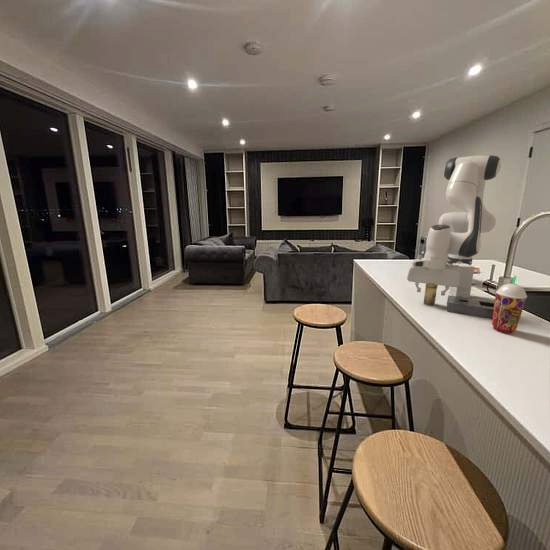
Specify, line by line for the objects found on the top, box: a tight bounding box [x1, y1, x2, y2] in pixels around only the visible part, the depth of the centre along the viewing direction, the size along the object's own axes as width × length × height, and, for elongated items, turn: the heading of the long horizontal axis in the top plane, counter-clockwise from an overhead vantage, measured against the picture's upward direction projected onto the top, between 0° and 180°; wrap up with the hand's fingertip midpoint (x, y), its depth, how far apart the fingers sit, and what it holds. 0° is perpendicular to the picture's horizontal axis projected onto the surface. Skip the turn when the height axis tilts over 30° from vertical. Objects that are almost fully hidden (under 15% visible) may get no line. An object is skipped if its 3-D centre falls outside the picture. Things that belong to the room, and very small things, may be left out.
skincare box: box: [448, 263, 475, 298], centre depth 135 cm, size 8×7×16 cm
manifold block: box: [446, 294, 495, 320], centre depth 116 cm, size 11×20×4 cm, turn 60°
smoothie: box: [491, 275, 528, 335], centre depth 98 cm, size 8×8×20 cm
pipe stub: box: [423, 283, 439, 307], centre depth 125 cm, size 5×5×10 cm
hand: (430, 293), depth 125 cm, fingers open, 8 cm apart
